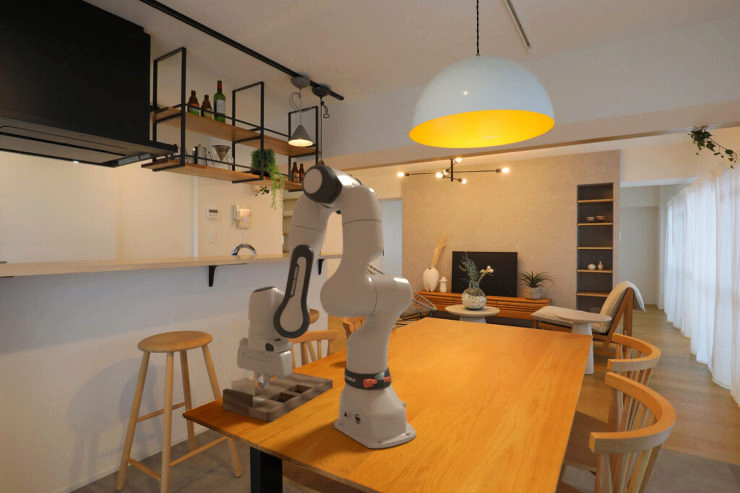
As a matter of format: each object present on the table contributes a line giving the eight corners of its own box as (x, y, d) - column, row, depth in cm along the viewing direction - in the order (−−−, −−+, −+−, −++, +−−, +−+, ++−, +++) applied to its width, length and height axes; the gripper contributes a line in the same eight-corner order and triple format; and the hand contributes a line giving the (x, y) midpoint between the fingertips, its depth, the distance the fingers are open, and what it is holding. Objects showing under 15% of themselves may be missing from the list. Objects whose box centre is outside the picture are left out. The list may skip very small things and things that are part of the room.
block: (247, 391, 124) (247, 377, 124) (254, 395, 120) (255, 382, 120) (231, 394, 121) (231, 381, 121) (238, 400, 117) (238, 386, 117)
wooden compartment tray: (290, 378, 143) (290, 363, 143) (332, 387, 135) (332, 370, 135) (222, 409, 116) (222, 390, 116) (270, 422, 108) (270, 401, 108)
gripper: (231, 338, 126) (231, 383, 126) (280, 348, 115) (280, 397, 115) (247, 334, 131) (247, 377, 131) (296, 343, 120) (295, 390, 120)
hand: (263, 387), depth 123 cm, fingers closed
